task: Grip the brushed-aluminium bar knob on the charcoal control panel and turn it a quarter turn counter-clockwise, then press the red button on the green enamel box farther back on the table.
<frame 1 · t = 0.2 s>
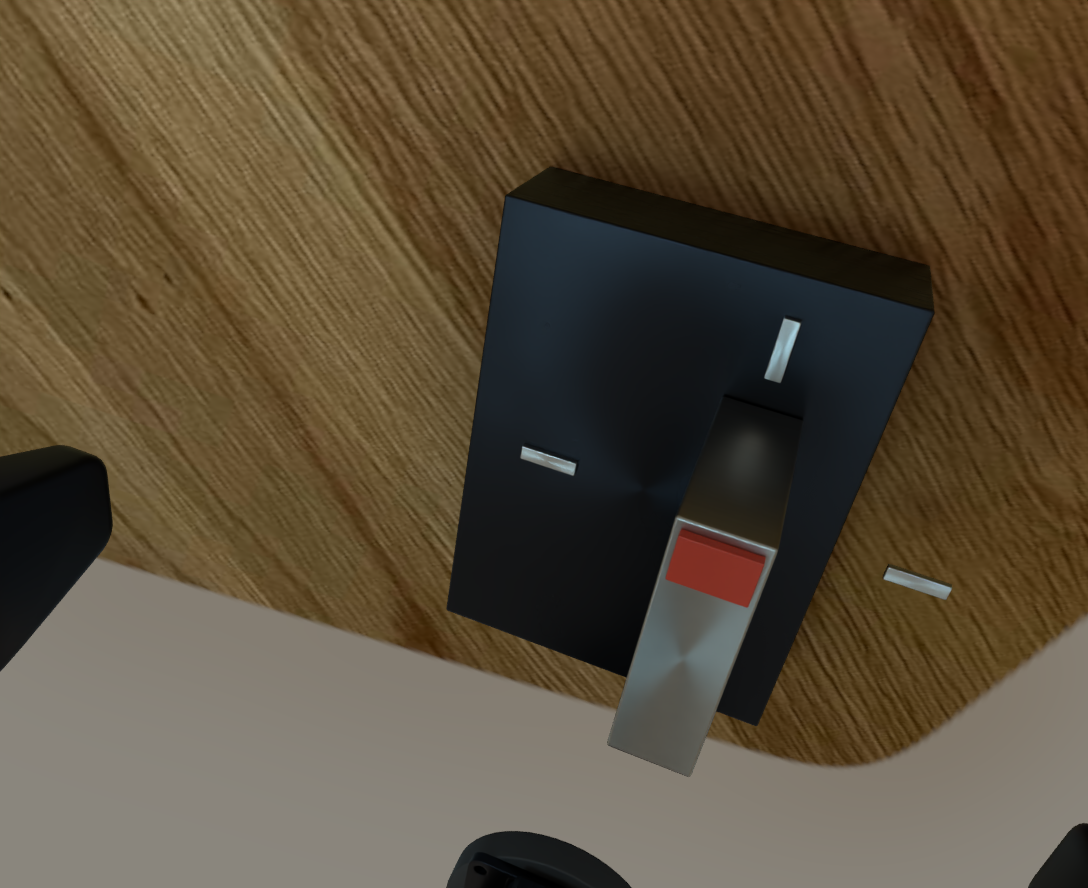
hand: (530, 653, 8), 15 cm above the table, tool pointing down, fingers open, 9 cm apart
console: (670, 432, 24), on the table
dial: (705, 583, 19), point 6 cm above the table, hinge at 0.0°
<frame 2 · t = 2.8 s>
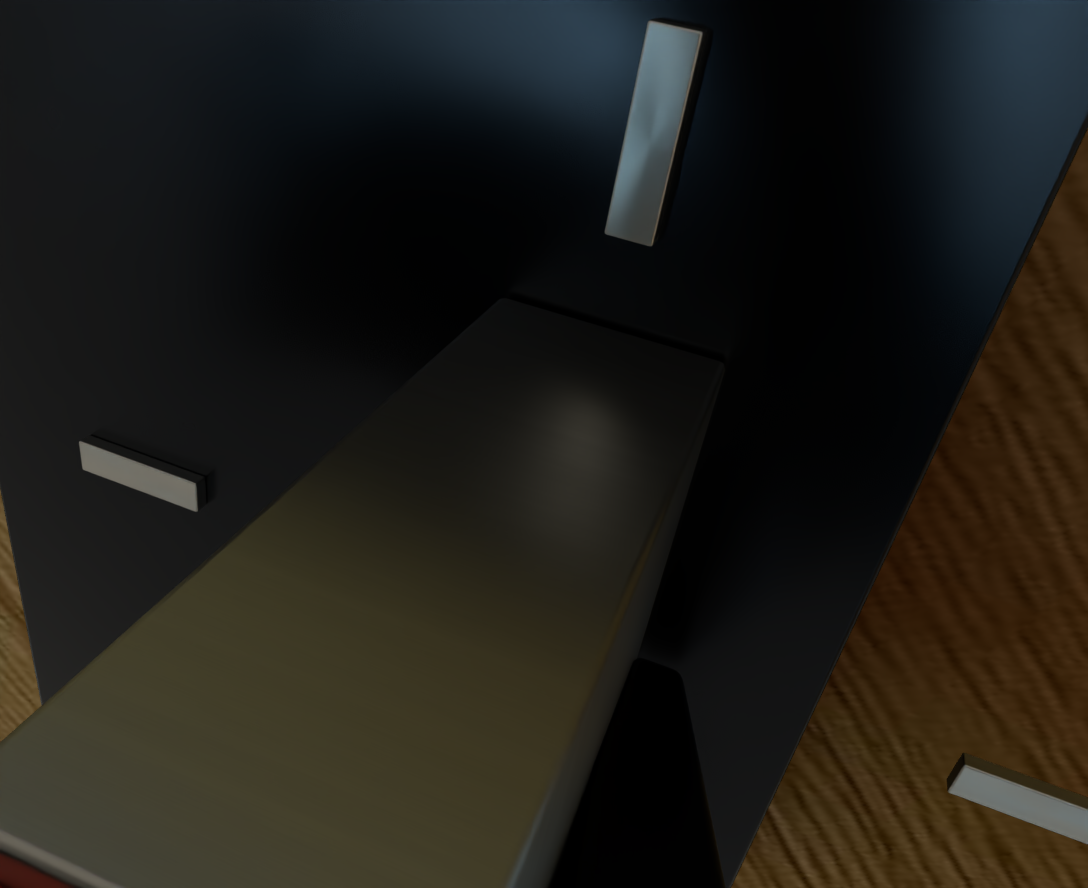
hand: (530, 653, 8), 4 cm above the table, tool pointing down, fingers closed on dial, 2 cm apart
console: (475, 413, 11), on the table
dial: (423, 855, 6), point 6 cm above the table, hinge at 0.0°, touching gripper
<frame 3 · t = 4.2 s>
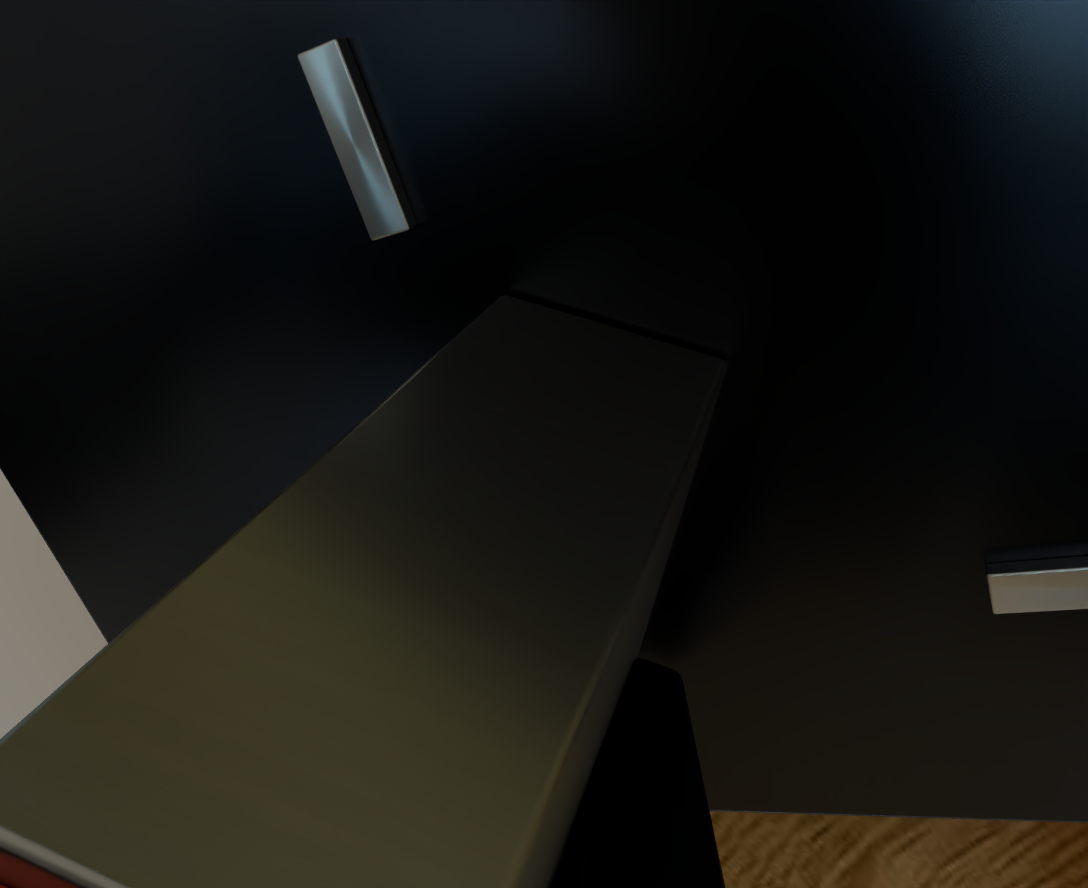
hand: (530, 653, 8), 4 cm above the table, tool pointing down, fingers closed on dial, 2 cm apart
console: (577, 306, 10), on the table
dial: (423, 854, 6), point 6 cm above the table, hinge at 60.5°, touching gripper
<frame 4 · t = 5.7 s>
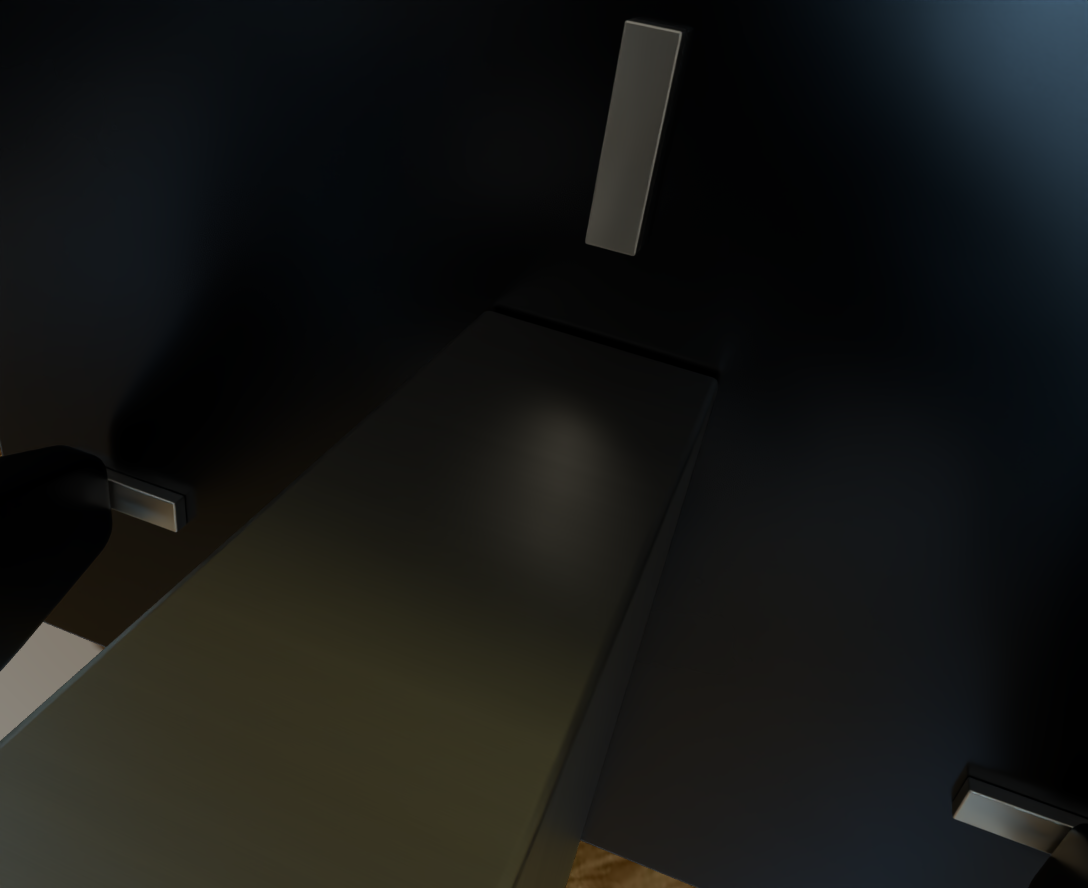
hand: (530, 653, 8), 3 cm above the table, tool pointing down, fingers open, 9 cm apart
console: (657, 319, 10), on the table
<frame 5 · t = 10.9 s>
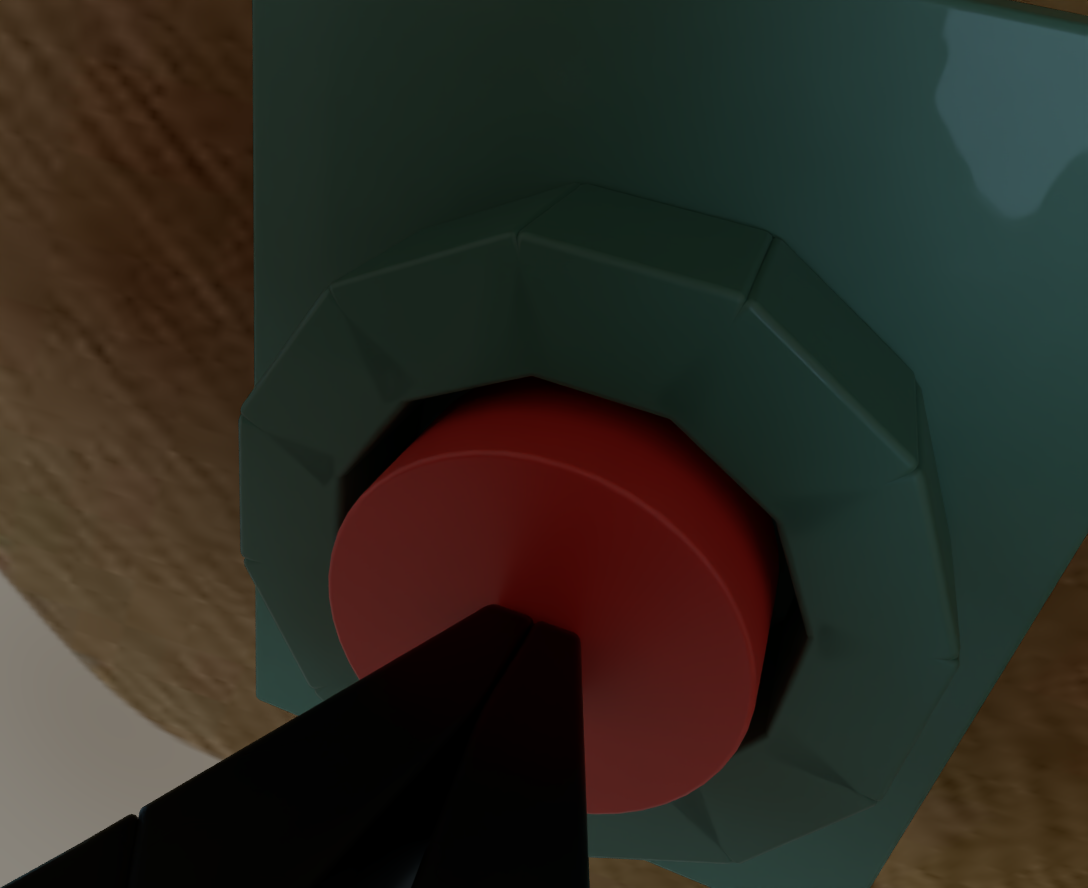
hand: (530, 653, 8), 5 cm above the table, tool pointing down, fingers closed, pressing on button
button: (556, 593, 9), point 4 cm above the table, slide at -0.6 cm, touching gripper
button box: (647, 421, 12), on the table
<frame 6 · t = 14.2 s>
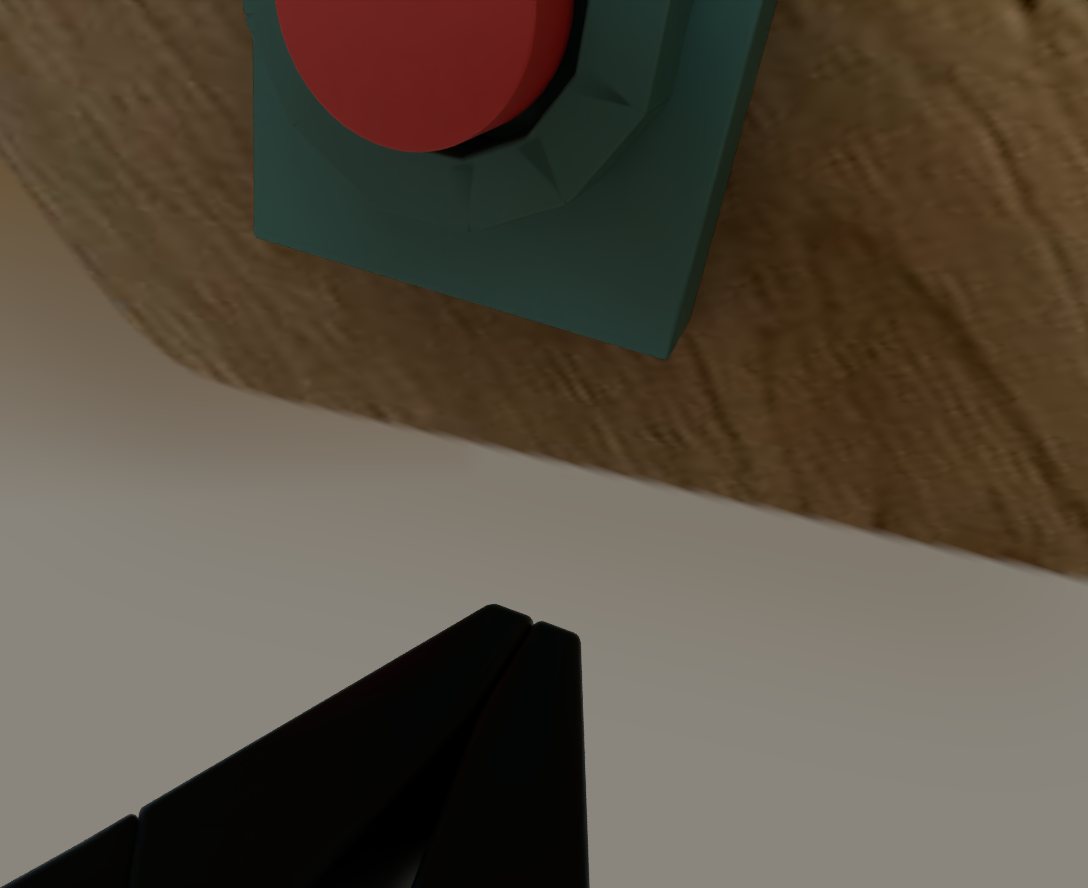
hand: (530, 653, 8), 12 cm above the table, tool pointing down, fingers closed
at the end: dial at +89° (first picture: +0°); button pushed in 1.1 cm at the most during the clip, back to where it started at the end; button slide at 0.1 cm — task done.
